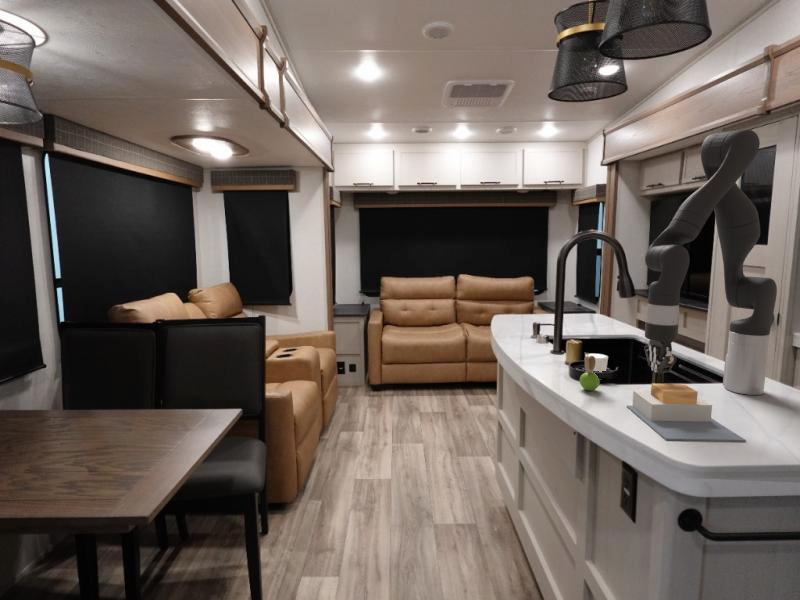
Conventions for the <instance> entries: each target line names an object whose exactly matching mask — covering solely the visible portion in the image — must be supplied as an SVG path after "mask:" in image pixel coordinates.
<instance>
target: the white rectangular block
mask: <svg viewBox="0 0 800 600" xmlns="http://www.w3.org/2000/svg"><path fill="white" fill-rule="evenodd" d="M632 406H634V407H635V408H636V409H637V410H639V411H640V412H641V413H642V414H643V415H645V416H646V417H647V418H648V419H649V420H651V421H703V422H711V418H712V412H713V411H712V410H713V404H711V403H710V402H707V401H706V400H704V399H703V398H701V397H699V396H697V404H686V403H662V402H660V401H659V400H657V399H656V398H655V397H653V396H652V395H651V390H633V392H632Z"/></svg>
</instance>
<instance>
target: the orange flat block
mask: <svg viewBox="0 0 800 600" xmlns="http://www.w3.org/2000/svg"><path fill="white" fill-rule="evenodd" d="M650 391H651V395H652V396H653V397H655V398H656V399H657V400H659V401H660V402H662V403H686V404H697V397H698V393H699V391H697V390H696V389H693V388H692V387H690V386H688V385H686V384H685V383H663V384H652V382H651V386H650Z"/></svg>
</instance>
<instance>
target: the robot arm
mask: <svg viewBox="0 0 800 600" xmlns="http://www.w3.org/2000/svg"><path fill="white" fill-rule="evenodd" d="M760 144H761V142H760V137H759V135H758V134H757V133H756V132H755V131H754V130H751V129H736V130H730V131H729V130H728V131H721V132H716V133H712V134H709V135H708V136H706V138H705V139H703V141H702V144H701V146H700V161H701V164H702V165H701V166H702V168H703V172H704V175H705V178H706V182H705V183H704V184H703V185H702V186H700V187H699V188H698V189H696V190H695V191H694V192H693V193H692V194H690V196H687V198H686V199H685V200H684V201H683V202H682V203H681V205H679V207H678V209H677V211H676V212H675V214H674V216H673V218H671V219H672V220H671V221H670V223H669V224H668V226H667V227H666V228H665V229H664V230H663V231H662V232H661V233H660V234H659V235H658V236H657V238H655V239H654V241H653V242H652V243H651V244H650V245H649V247H648V248H647V251H646V253H645V256H644V257H645V258H644V263H645V265H646V267H647V268H648V269H650V270H652V271H655V272H660V276H659V279H658V280H656V281H652V282H651V283H650V284H649V287H648V296H647V297H648V298H647V307H646V312H645V324H644V325H645V326H644V337H645V339H647V340H649V342H648V345H644V347H643V348H644V352H645V356H646V357H645V358H646V360H647V361H646V362H647V366H648V367H650V368H651V371H652V377H651V378H652V379H651V383H652V384H664V378H665V373H670V372H671V370H672V368H673V367H674V366H675V364H676V362H677V360H678V358H677V356H676V355H675V356H673V355H672V351H673V347H672V343H673V342H676V341H677V340H678V339H679V338H678V337H679V324H680V296H681V289H682V286H683V284H684V280H685V277H686V275H687V272H688V269H689V266H690V255H689V252H688V250H687V249H686V247H685V246H683V245H685V244H688V243H691V242H693V241H694V240H695V239H696V238H697V237H698V235H699V234H700V233H701V231H702V229H703V228H704V226H705V224H706V223H707V220H708V219H709V218H710V215H711V214H712V213H713V211H714V216H715V223H716V230H717V234H718V235H717V237H718V239H719V244H720V245H719V246H720V250H721V256H722V257H721V258H722V263H723V265H722V266H723V278H724V281H723V282H724V293H725V294H724V295H725V298H726V301H727V303H728V305H729V306H731V307H732V308H733V307H734V308H738V309H747V310H753V312H752V314H751V315H750V316H748V317H746V318H742V319H735V320H733V321H732V320H731V322H730V323H729V330H728V331H729V332H728V345H727V354H725V360H724V366H723V367H724V368H723V369H724V370H723V371H724V372H723V378H722V385H723V386H724V388H725V389H726V390H728V391H730V392H733V393H736V394H737V393H738V394H742V395H747V396H748V395H749V396H761V395H764V393H765V384H766V375H767V374H766V373H767V363H768V358H769V357H768V356H769V344H770V334H771V328H772V325H773V320H774V312H775V306H776V302H777V301H776V300H777V295H778V294H777V293H778V288H777V287H778V286H777V283H776V281H775V280H774V279H773V278H770V277H762V276H761V277H760V276H759V277H758V276H745V274H744V264H745V260H746V259H747V257H748V256H749V254H750V253H751V251H752V250H753V248H754V247H755V245H756V244H757V242H758V241H759V239H760V236H761V224H760V219H759V211H758V210H757V207H756V206H755V205H754V203H753V202H752V200H751V199H750V198H749V197H748V195H747V194H745V192H744V191H743V190H742V189H741V188H740V187H739V186H738V184H737V182H738V180H739V179H740V178H741V176H743V174H744V173H745V172H746V171H747V169H748V168H749V167H750V166H751V165H752V163H753V162H754V160H755V159H756V158H757V155H758V153H759V149H760Z"/></svg>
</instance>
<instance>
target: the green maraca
mask: <svg viewBox="0 0 800 600" xmlns="http://www.w3.org/2000/svg"><path fill="white" fill-rule="evenodd" d="M586 354H587V356H586V357H585V355H586ZM588 355H589V352H584V370H585V372H584V373H582V374H581V375H580V377H579V384H580V387H582V389H583V390H586V391H590V392H591V391H594V390H596V389H598V388H599V385H600V382H601V381H600V379H599V378H598V376H597V375H596V374H595V373H593V370H594V367H595V362H596V361H595V357H594V356H589V357H588Z"/></svg>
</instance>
